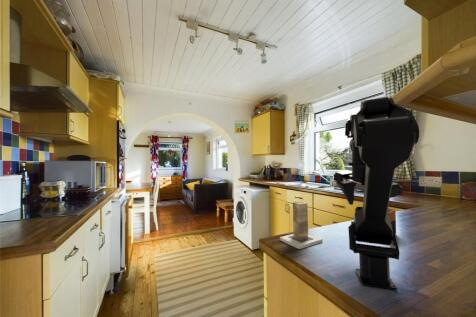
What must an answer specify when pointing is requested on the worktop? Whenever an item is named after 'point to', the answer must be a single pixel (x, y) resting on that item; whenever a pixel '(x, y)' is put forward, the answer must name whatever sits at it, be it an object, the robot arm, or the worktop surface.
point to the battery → (392, 218)
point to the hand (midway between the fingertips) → (363, 209)
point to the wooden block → (300, 220)
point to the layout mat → (301, 241)
